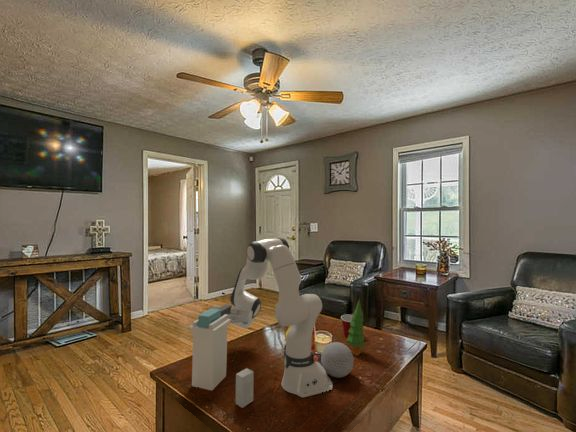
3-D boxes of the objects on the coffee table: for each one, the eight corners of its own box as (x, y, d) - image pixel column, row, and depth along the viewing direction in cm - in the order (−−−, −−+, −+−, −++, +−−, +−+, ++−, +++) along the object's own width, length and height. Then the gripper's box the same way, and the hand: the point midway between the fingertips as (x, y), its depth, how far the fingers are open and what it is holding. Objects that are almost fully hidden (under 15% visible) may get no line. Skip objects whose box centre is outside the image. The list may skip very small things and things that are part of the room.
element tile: (309, 344, 172) (309, 336, 172) (284, 341, 175) (284, 333, 175) (312, 334, 187) (312, 326, 187) (289, 332, 190) (289, 324, 190)
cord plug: (224, 311, 148) (224, 301, 148) (233, 312, 146) (233, 302, 146) (198, 326, 127) (198, 315, 127) (208, 328, 125) (208, 316, 125)
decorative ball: (353, 370, 144) (354, 339, 144) (351, 387, 130) (353, 353, 130) (322, 365, 148) (324, 335, 148) (317, 380, 134) (319, 347, 134)
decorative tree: (365, 357, 158) (367, 301, 157) (348, 356, 158) (349, 300, 158) (361, 349, 167) (362, 296, 167) (344, 348, 168) (346, 295, 167)
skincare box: (246, 396, 121) (246, 367, 121) (253, 401, 118) (254, 371, 118) (234, 403, 116) (235, 373, 116) (242, 408, 114) (242, 377, 114)
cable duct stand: (206, 370, 140) (208, 311, 140) (229, 375, 137) (230, 315, 137) (188, 386, 127) (189, 321, 127) (212, 392, 123) (214, 325, 123)
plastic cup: (339, 338, 181) (339, 319, 181) (341, 332, 191) (341, 313, 191) (357, 341, 178) (357, 321, 178) (358, 334, 188) (359, 315, 188)
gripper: (220, 306, 160) (209, 300, 149) (255, 311, 154) (246, 304, 143) (217, 318, 157) (205, 312, 146) (252, 324, 151) (243, 318, 140)
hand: (225, 309), depth 144 cm, fingers closed on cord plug, 3 cm apart
